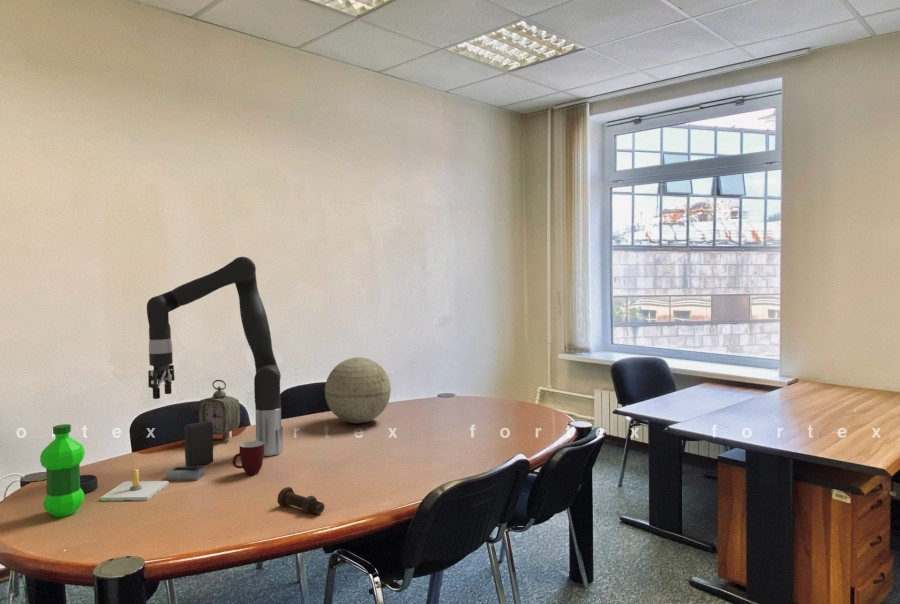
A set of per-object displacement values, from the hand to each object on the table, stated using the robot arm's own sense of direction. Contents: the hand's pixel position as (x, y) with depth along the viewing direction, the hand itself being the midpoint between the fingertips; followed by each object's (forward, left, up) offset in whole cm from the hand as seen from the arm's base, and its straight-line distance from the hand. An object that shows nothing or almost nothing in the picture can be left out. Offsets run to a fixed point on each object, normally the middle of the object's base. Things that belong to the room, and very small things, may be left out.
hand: (162, 396), depth 212 cm
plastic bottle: (+7, +46, -24) cm, 52 cm away
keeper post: (-5, +30, -24) cm, 39 cm away
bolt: (-60, +45, -25) cm, 79 cm away
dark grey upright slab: (-14, +3, -24) cm, 28 cm away
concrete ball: (-63, -56, -24) cm, 88 cm away
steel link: (-15, +17, -24) cm, 33 cm away
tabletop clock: (-10, -29, -24) cm, 39 cm away
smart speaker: (+13, +28, -25) cm, 39 cm away
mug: (-35, +14, -24) cm, 45 cm away
